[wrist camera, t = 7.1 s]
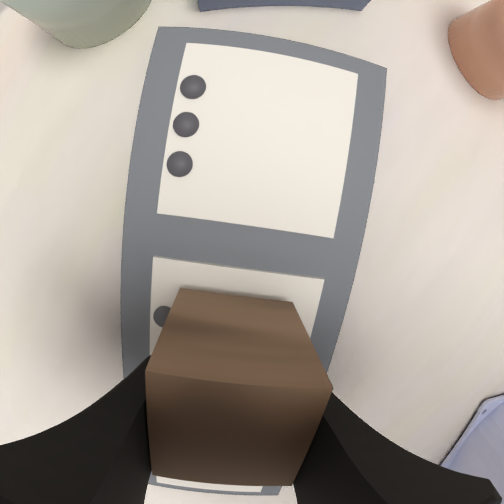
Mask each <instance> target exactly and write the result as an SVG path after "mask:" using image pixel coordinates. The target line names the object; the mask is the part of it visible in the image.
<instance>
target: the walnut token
mask: <svg viewBox="0 0 504 504" xmlns="http://www.w3.org/2000/svg"><path fill="white" fill-rule="evenodd" d="M145 383H146V406H147V423H148V436H149V448H150V458H151V467H152V475H154V476H159V477H165V478H171V479H178V480H185V481H192V482H201V483H211V484H223V485H239V486H292V484H293V482H294V480H295V477H296V475H297V473H298V471H299V469H300V467H301V465H302V463H303V460H304V458H305V456H306V454H307V452H308V449H309V447H310V445H311V443H312V440H313V438H314V436H315V433H316V431H317V428H318V426H319V423H320V421H321V419H322V416H323V414H324V411H325V408H326V406H327V403H328V401H329V398H330V395H331V393H332V390H333V387H332V384H331V382H330V380H329V378H328V376H327V374H326V371H325V369H324V367H323V365H322V363H321V361H320V359H319V357H318V354H317V352H316V350H315V348H314V346H313V344H312V342H311V339H310V337H309V335H308V333H307V331H306V329H305V327H304V325H303V323H302V320H301V318H300V316H299V314H298V312H297V310H296V308H295V306H294V304H293V302H290V301H280V300H272V299H263V298H254V297H246V296H238V295H230V294H223V293H215V292H208V291H200V290H193V289H186V288H180V289H179V291H178V293H177V296H176V298H175V300H174V302H173V305H172V307H171V309H170V312H169V314H168V316H167V319H166V321H165V323H164V326H163V328H162V331H161V333H160V335H159V338H158V340H157V343H156V345H155V347H154V350H153V352H152V355H151V357H150V360H149V362H148V365H147V367H146V370H145Z"/></svg>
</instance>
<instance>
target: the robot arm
mask: <svg viewBox="0 0 504 504" xmlns="http://www.w3.org/2000/svg"><path fill="white" fill-rule="evenodd" d="M150 357H151V355H149V356H148V357H146V358H145V359H144V360H143V361H142V362H141V363H140V364H139V365H138V366H137V367H136V368H135V369H134V370H133V371H132V372H131V373H130V374H129V375H128V376H127V377H126V378H125V379H123V380H122V381H121V382H120V383H119V384H118V385H116V386H115V387H114V388H113V389H112V390H111V391H109V392H108V393H107V394H105V395H104V396H103V397H101V398H100V399H99V400H97V401H96V402H95V403H93V404H92V405H91V406H89V407H88V408H86V409H85V410H83V411H82V412H80V413H78V414H77V415H75V416H73V417H72V418H70V419H68V420H66V421H64V422H62V423H60V424H58V425H56V426H54V427H52V428H50V429H47V430H45V431H43V432H41V433H38V434H36V435H33V436H30V437H27V438H25V439H21V440H18V441H15V442H11V443H8V444H4V445H0V504H144V500H145V494H146V489H147V485H148V481H149V478H150V475H151V471H152V467H151V458H150V448H149V436H148V423H147V406H146V383H145V370H146V367H147V365H148V362H149V360H150ZM293 485H294V489H295V493H296V498H297V503H298V504H504V395H501V396H498V397H494V398H490V399H487V400H485V401H484V402H483V403H482V405H481V406H480V408H479V410H478V411H477V413H476V415H475V416H474V418H473V419H472V421H471V423H470V424H469V426H468V427H467V429H466V430H465V432H464V433H463V435H462V436H461V438H460V439H459V441H458V442H457V444H456V445H455V446H454V448H453V449H452V451H451V452H450V453H449V455H448V456H447V457H446V459H445V460H444V461H443V463H442V464H441V465H440V466H439V465H436V464H434V463H432V462H429V461H427V460H425V459H423V458H421V457H419V456H417V455H415V454H413V453H411V452H409V451H407V450H405V449H403V448H401V447H400V446H398V445H396V444H395V443H393V442H392V441H390V440H389V439H387V438H386V437H384V436H382V435H381V434H380V433H378V432H377V431H375V430H374V429H373V428H372V427H370V426H369V425H368V424H367V423H365V422H364V421H363V420H362V419H360V418H359V417H358V416H357V415H356V414H355V413H353V412H352V411H351V410H350V409H349V408H348V407H347V406H346V405H345V404H344V403H343V402H341V401H340V400H339V399H338V398H337V397H336V396H335V395H334V394H333V393H331V395H330V398H329V401H328V403H327V406H326V408H325V411H324V414H323V416H322V419H321V421H320V423H319V426H318V428H317V431H316V433H315V436H314V438H313V440H312V443H311V445H310V447H309V449H308V452H307V454H306V456H305V458H304V460H303V463H302V465H301V467H300V469H299V471H298V473H297V475H296V477H295V480H294V482H293Z"/></svg>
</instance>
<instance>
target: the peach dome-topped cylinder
mask: <svg viewBox="0 0 504 504" xmlns="http://www.w3.org/2000/svg"><path fill="white" fill-rule="evenodd" d="M448 40H449V45H450V49H451V52H452V55H453V58H454V60H455V62H456V64H457V66H458V68H459V70H460V71H461V73H462V74H463V76H464V77H465V79H466V80H467V81H468V83H469V84H470V85H471V86H472V87H473V88H474V89H475V90H476V91H477V92H478V93H479V94H481V95H482V96H484V97H486V98H488V99H492V100H498V99H504V0H490V1H488V2H486V3H484V4H482V5H481V6H479V7H477V8H475V9H473V10H471V11H469V12H467V13H465V14H464V15H462V16H460V17H458V18H456V19H455V20H453V21H452V22H451V24H450V26H449V30H448Z"/></svg>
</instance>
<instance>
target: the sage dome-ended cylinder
mask: <svg viewBox="0 0 504 504" xmlns="http://www.w3.org/2000/svg"><path fill="white" fill-rule="evenodd" d="M0 2H2V3H4V4H5V5H7V6H8V7H10V8H11V9H13V10H14V11H16V12H18V13H19V14H21V15H22V16H24V17H25V18H27V19H28V20H30V21H31V22H33V23H34V24H36V25H37V26H39V27H40V28H42V29H43V30H45V31H46V32H47V33H49V34H50V35H52V36H53V37H55V38H56V39H58V40H59V41H60V42H62V43H63V44H65V45H67V46H69V47H72V48H79V49H80V48H90V47H95V46H98V45H101V44H104V43H106V42H108V41H110V40H113V39H114V38H116V37H118V36H119V35H121V34H122V33H124V32H125V31H127V30H128V29H129V28H130V27H132V26H133V25H134V24H135V23H136V22H137V21H138V20H139V19H140V17H141V16H142V15H143V14H144V12H145V11H146V10H147V8H148V6H149V4H150V2H151V0H0Z"/></svg>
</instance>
